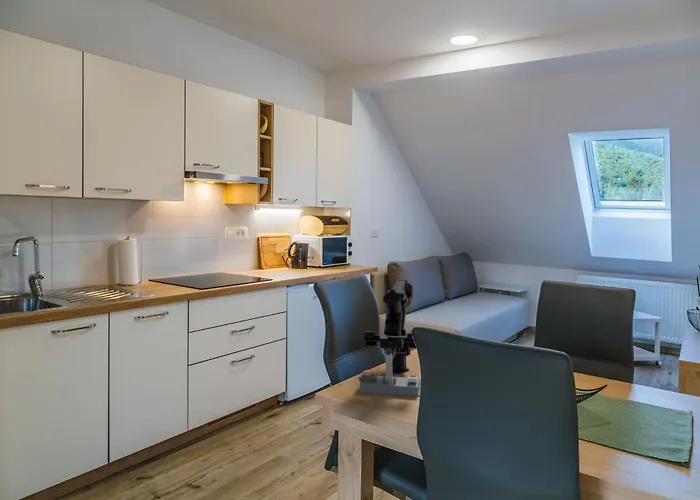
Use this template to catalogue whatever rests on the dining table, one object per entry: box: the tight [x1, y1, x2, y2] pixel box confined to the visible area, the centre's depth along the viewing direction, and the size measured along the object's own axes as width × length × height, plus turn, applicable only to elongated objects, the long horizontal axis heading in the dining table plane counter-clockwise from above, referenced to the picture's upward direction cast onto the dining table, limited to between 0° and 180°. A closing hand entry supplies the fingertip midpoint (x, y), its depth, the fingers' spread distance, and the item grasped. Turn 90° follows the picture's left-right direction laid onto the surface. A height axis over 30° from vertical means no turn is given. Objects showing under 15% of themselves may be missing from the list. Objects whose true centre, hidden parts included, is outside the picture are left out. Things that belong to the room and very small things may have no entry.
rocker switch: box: [407, 374, 418, 382], centre depth 169 cm, size 4×3×2 cm, turn 168°
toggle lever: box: [384, 347, 393, 382], centre depth 167 cm, size 2×2×12 cm
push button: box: [362, 369, 374, 377], centre depth 172 cm, size 3×3×2 cm
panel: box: [358, 372, 421, 397], centre depth 171 cm, size 9×20×5 cm, turn 78°
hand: (389, 361), depth 168 cm, fingers closed, pressing on toggle lever
